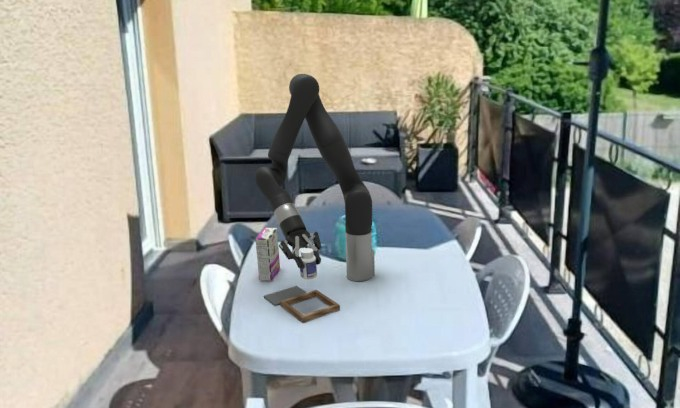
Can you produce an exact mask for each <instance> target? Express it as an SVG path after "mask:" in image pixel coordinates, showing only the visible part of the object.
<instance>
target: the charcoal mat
mask: <svg viewBox="0 0 680 408" xmlns="http://www.w3.org/2000/svg"><path fill="white" fill-rule="evenodd" d="M304 293H307V291H305V290H303V289H302V288H301V287H299V286H298V285H294V286H291V287H288V288H285V289H282V290H278V291H275V292H272V293H268V294H266V295H265V294H264V295H262V296H263V297H264V298H263V299H265V300H266V301H267V302H268V303H270V304H271V305H273V306H274V307H276V306H277V307H278V306H279V305H280V301H282V300H285V299H289V298H292V297H295V296H298V295H301V294H304Z"/></svg>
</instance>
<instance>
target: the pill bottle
mask: <svg viewBox="0 0 680 408" xmlns="http://www.w3.org/2000/svg"><path fill="white" fill-rule="evenodd" d="M313 254H314V253H313V249H311V248H301V250H300V257H301V259H302V261H303V263H304V265H305V268H304V269H302V270H301V269H300V268H299V271H300V272H299V273H300V277H301V278H302V279H303V280H312V279H315V278H317V276H318V267H317V266H318V265H317V264H316V257H315V256H314V255H313Z"/></svg>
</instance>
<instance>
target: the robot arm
mask: <svg viewBox="0 0 680 408" xmlns="http://www.w3.org/2000/svg"><path fill="white" fill-rule="evenodd" d="M288 85H289V86H288V90H289V94H290V98H289V103H288V106H287V110H286V113H285V114H284V117H283V119H282V120H281V122H280V125H279V127H278V128H277V130H276V133H275V134H274V137H273V139H272V142H271V144H270V147H269V150H268V153H267V157H268V158H269V159H270V160H271V167H269V166H260V167H258V168H257V169H256V171H255V173H254V181H255V185H256V186H257V188H258V190H259V191H260V192H261V193H262V195H263V196H264V197H265V199H266V200H267V201H268V202H269V205H270V207H271V209H272V211H273V213H274V216H275V219H276V220H275V221H276V222H277V224H278V226H279V228H280V230H281V232H282V235H283V237H284V238H285V240H282V241H280V242H279V243H278V248H279V249H280V250H281V251H282V253H283V254H284V255H285V257H286V259H288V261H289V260H293V261H294V262H295V263H296V266H297V268H298V269H299V270H300V269H301V270H302V269H304V268H305V265H304V263H303V261H302V259H301V256H300V249H305V248H311V249H313V253H314V254H313V255H314V256H315V257H316V266H318V265H320V264H321V261H322V257H321V256H320V254H319V251H320V250H321V249H322V248H323V247H322V243H321V240H320V236H319V232H318V231H314V232H309V231H308V230H307V227H306V225H305V223H304V221H303V219H302V216H301V214H300V212H299V210H298V208H297V207H296V205H295V204H294V202H293V200H292V197H291V195H290V193H289V192H288V191H287V190H286V189H284V188H282V186H283V185H284V183H285V181H286V178H287V173H288V166H289V165H288V164H289V158H290V156H291V154H292V151H293V149H294V146H295V143H296V140H297V138H298V135H299V133H300V130H301V127H302V126H303V123H304V121H305V120H306V122H307V126H308V129H309V131H310V134H311V136H312V138H313V140H314V144H315V146H316V147H317V149H318V152H319V154H320V156H321V158H322V159H323V161H324V163H325V165H326V166H327V167H328V168H329V170H330V171H331V172H332V174H333V175H334V177H335V178H336V180H337V183H338V185H339V189H340V190H341V193H342V196H343V199H344V200H343V201H344V213H345V216H344V217H345V224H344V228H345V229H344V231H345V234H344V235H345V254H346V255H345V263H346V264H345V266H346V267H345V269H346V277H347V279H348V280H350V281H354V282H364V281H368V280H370V279H372V277H373V276H374V277H375V274H376V273H375V272H376V271H375V267H376V266H375V262H376V261H375V250H374V249H373V240H372V239H373V234H372V233H373V231H372V229H373V227H372V226H373V200H372V196H371V195H372V194H371V192H370V191H369V189H368V187H367V186H366V184H365V183H364V181H362V179H361V177H360V175H359V174H358V171H357V170H356V168H355V164H354V162H353V159H352V156H351V153H350V151H349V148H348V145H347V143H346V141H345V138H344V137H343V134H342V133H341V131H340V129H339V127H338V126H337V124H336V123H335V121H334V120H333V119H332V117H331V116H330V114H329V113H328V112H327V110H326V108H325V106H324V104H323V102H322V99H321V97H320V84H319V81H318V80H317V78H315V77H314V76H312V75H310V74H306V73H299V74H295V76H293V77H292V78H291V80H290V82H289V84H288ZM310 239H311V240H310ZM289 246H290V247H291V249H290V248H289Z"/></svg>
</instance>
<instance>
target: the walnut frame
mask: <svg viewBox="0 0 680 408" xmlns="http://www.w3.org/2000/svg"><path fill="white" fill-rule="evenodd" d="M306 292H307V291H306ZM312 298H316V299H319V300H320V301H322V302H323V303H325V304H326V305H327V307H323V308H320V309H317V310H315V311H312V312H308V313H306V314H303V313H302V312H300V311H299V310H297V308H295V307H293V306H292V305H295V304H297V303H301V302H304V301H306V300H309V299H312ZM280 307H281V308H282V309H284V310H285V311H286V312H287V313H289V314H290V315H292V317H294V318H296V319H297V320H298V321H300V322H301V323H303V324H304V323H306V322H309V321H312V320H314V319H317V318H321V317H324V316H327V315H329V314H331V313H334V312H335V313H336V312H338V311H341V305H340V304H339V303H337V302H336V301H335V300H333V299H332V298H330V297H329V296H327V295H326V294H324V293H323V292H321V291H319V290H318V289H314V290H311V291H308V292H307V293H304V294H301V295H298V296H295V297H292V298H289V299H285V300H282V301H280Z"/></svg>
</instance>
